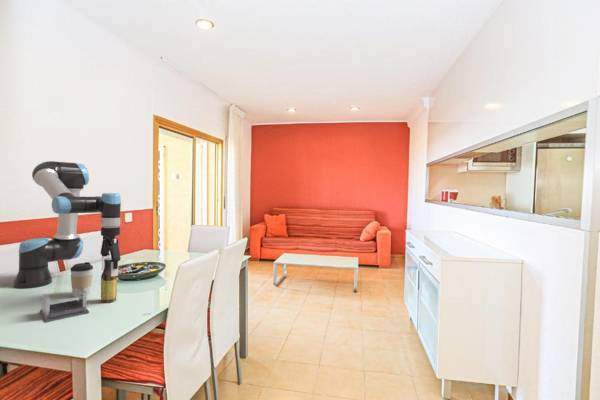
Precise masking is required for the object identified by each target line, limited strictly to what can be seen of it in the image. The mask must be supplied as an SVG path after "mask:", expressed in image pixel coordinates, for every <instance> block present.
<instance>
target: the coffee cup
mask: <svg viewBox="0 0 600 400" xmlns="http://www.w3.org/2000/svg"><path fill="white" fill-rule="evenodd" d="M93 270H94V265H92V264H91V263H90V262H81V263H75V264H73V265H72V266H71V267H70V273H71V274H70V281H71V289H72V292H71V293H72V297H74V298H78V293H79V289H80V288H82V289H83V290H84V291H85V292H86V293H87V296H90V294H91V287H92V280H93Z"/></svg>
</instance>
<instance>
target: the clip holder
mask: <svg viewBox="0 0 600 400" xmlns="http://www.w3.org/2000/svg"><path fill="white" fill-rule="evenodd" d="M87 297H88V295H87V293H86V292H85V291H84V290H83V289H82V288H80V289H79V293H78V297H77V298H78V299H74V300H69V301H63V302H58V303H51V297H49V295H48V294H47V293H44V294H42V304H41V306H42V307H41V309H40V310H39V311H40V314H41V316H42V318H43V320H44V323H49V322H53V321H54V322H55V321H60V320H63V319H67V318H73V317H78V316H81V315H86V314H89V313H90V311H89V309H88V308H87Z"/></svg>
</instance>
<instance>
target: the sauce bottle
mask: <svg viewBox="0 0 600 400" xmlns="http://www.w3.org/2000/svg"><path fill="white" fill-rule="evenodd" d="M111 260H112V258H111V257H109V258H105V259H104V263H105V267H104V270H103V271H102V273H101V275H100V299H101V303H105V304H106V303H113V302H116V301H117V295H118V294H117V293H118V278H117V277H118V276H112V277H111V262H110V261H111Z"/></svg>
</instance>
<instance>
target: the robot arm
mask: <svg viewBox="0 0 600 400" xmlns="http://www.w3.org/2000/svg"><path fill="white" fill-rule="evenodd" d="M31 173H32V174H31V178H32V180H33V181H34V183H35V184H37V185H38V186H40V187H41V188H42V189H44V191H45V192H46V194H47V195H48V196H49V197H50V198H51V199H52V201H51V209H52V211H53V213H55V214H58V218H57V230H56V233H55V234H54V235H53V238H52V239H49V238H48V237H36V238H31V239H30V238H29V239H27V240H23V241H22V242H20V244H19V246H18V271H17V274H16V277H15V279H14V281H13V287H14V288H16V289H32V288H38V287H45V286H47V285H50V284H51V283H52V282H53V277H52V274H51V271H50V269H49V263H52V262H58V261H66V260H67V261H69V260H72V259H77V258H79V257H80V256H81V255H82V253H83V250H84V244H83V243H84V241H83V239H82V238H81V237H80V235H79V234H78V233H77V229H78V217H79V214H94V213H100V220H99V222H100V226H101V228H100V236H102V242H101V247H100V255H101V271H102V272H103V271H104V267H105V263H104V259H105V258H112V260H111V261H110V262H111V277H112V276H117V277H118V276H119V261H121V253H120V245H119V238H116V237H117V236H120V235H121V227H120V226H121V206H122V205H121V204H122V201H121V194H120V193H118V192H117V193H115V192H114V193H113V192H103V193H102V194H101V196H100V195H99V196H98V195H96V196H80V193H81V191H82V190H84V186H87V185H88V184H89V181H90V173H89V170H88V167H86V165H85V164H82V163H77V162H65V161H53V160H52V161H50V160H49V161H48V160H47V161H44V162H41V163H39V164H37V165H36V166H35V167H34V169H33V171H32V172H31Z"/></svg>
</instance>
